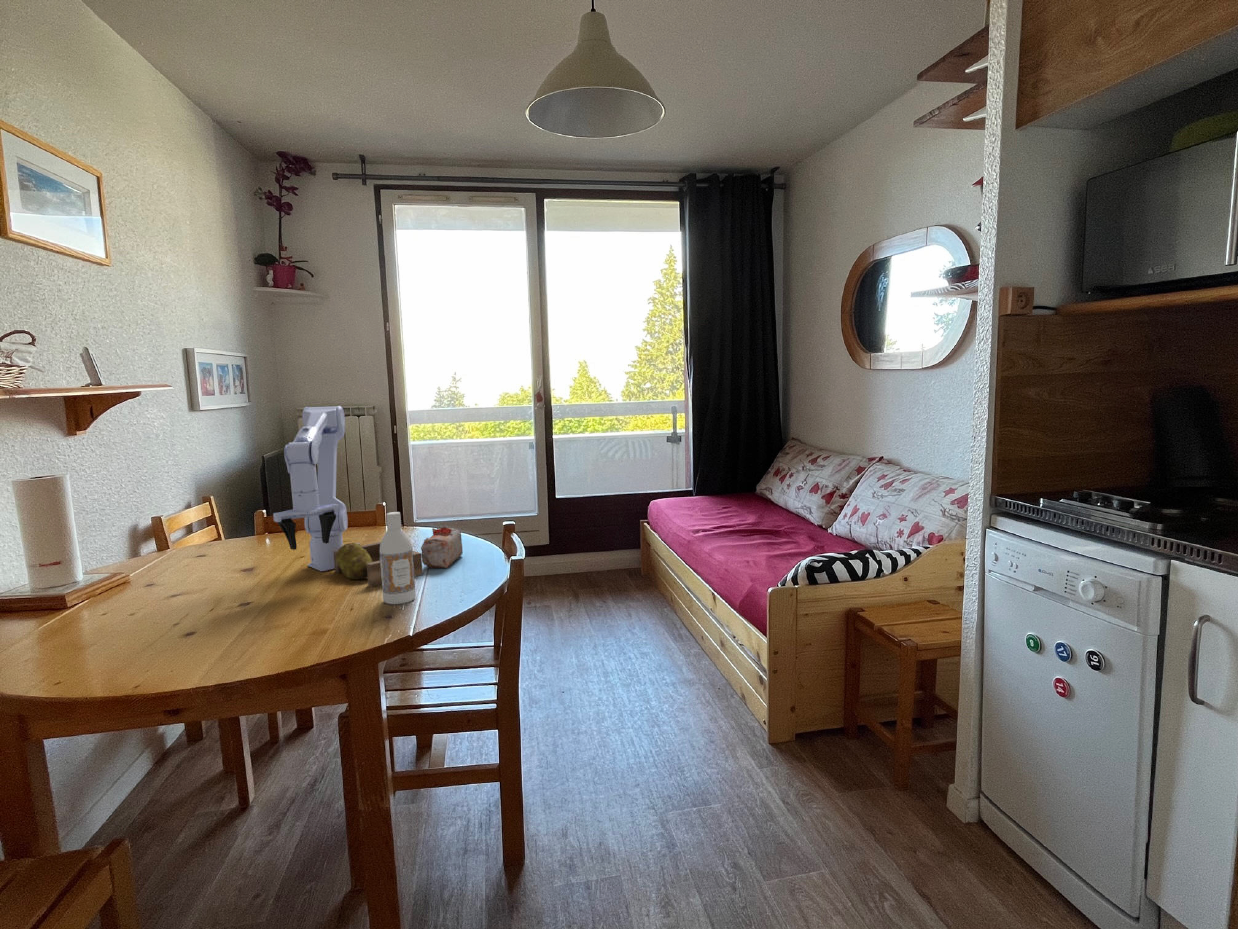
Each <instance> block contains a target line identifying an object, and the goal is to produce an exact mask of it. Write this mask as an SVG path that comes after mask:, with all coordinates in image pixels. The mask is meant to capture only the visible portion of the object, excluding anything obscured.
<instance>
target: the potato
mask: <svg viewBox="0 0 1238 929" xmlns="http://www.w3.org/2000/svg"><path fill="white" fill-rule="evenodd" d="M356 543H357V542H349V543H345V544H343V546H342V547H340V548H339V550H338V552H337V556H336V560H337V564H338V566H339V567H340V568H341V570H342V572H341V573H342V574H343V575H344V576H345V577H346V578H348V579H351V580H366V579H368V576H367V563H371V562H373V561H372V559H371V557H370V555H369V553H368V552H367V551H366V550H365V549H363V548H362V545H361V544H360V545H359V544H356Z"/></svg>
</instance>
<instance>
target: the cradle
mask: <svg viewBox="0 0 1238 929" xmlns="http://www.w3.org/2000/svg"><path fill="white" fill-rule="evenodd" d="M355 543H356V544H359V545H360V546H362V548H363V549H365V550H366V551H367V552H368V553H369V555H370V557H371V559H372V561H373V562H371V563H367V576H368V577H367V586H368V587H371V588H374V587H377V586H382V577H381V565H380V544H381V541H378V542H373V543H368V544H364V545H363V544H362V545H361V543H360V542H355ZM412 551H413V565H414V577H416V576H421V575H423V562H422V556H421V553H422V552H418V551H415V550H412ZM337 552H338V551H333V554H334V565H335V569H334V572H335V573H336V574H341V573H343V572H342V570H341V568H340V567H339V566H338V564H337V560H336V556H337Z"/></svg>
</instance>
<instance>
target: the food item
mask: <svg viewBox="0 0 1238 929" xmlns="http://www.w3.org/2000/svg"><path fill="white" fill-rule="evenodd" d="M431 530H432V536H429V537H426V538H425V539H424V540H423V543H422V545H421V546H420V550H421V552H420V553H421V559H422V565H424V566H426V567H427V568H431V569H432V568H433V569H447V568H449V567H450V566H451V565H452V564H453V563H454V562H455V561H457V559H459V558H460V557H461V556H462V555H463V542H462V532H461V530H460V529H458V528H454V527H453V528H451V527H446V526H443V527H441V528H437V529H436V528H434V527H432V529H431Z"/></svg>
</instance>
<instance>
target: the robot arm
mask: <svg viewBox="0 0 1238 929" xmlns="http://www.w3.org/2000/svg"><path fill="white" fill-rule="evenodd" d="M301 415H302V416H301V417H302V424H303V426H302V427H301V428H300V429H299V430H298V431H297V434H296V435H295V437H294V439H293V442H292V441H291V442H288V444H285V446H284V450H283V452H284V462H285V464H286V468H287V470H286V471H287V473H288V474H289V477H290V489H291V498H292V509H287V510H284V511H280V512H279V511H278V512H273V514H272V517H273V522H275V523H277V524H278V527H280V529H281V530H282V532H283V533H284V535H285V537H286V539H287V542H288V545H289V548H290V550H293V551H296V550H297V547H298V546H297V540H296V526H297V523H295V522H294V520H295V519H301V518H303V519H304V520H303V521H304V529H305V532H307V534H308V535H310V540H309V553H310V554H309V555H310V563H307V566H308V567H310V568H313V569H315V570H318V571H319V572H326V571H331V570H335V565H334V554H333V551H338V550H339V548H340V547H342V546H343V545H344V541H343V533H345V532H346V530H348V529H347V528H348V523H349V522H348V514H347V512H348V511H347V509H348V508H347V506H346V504H345V503H344V502H343V501H341V500H340V499H338V498H337V497H336V496H337V463H338V462H337V460H338V459H337V457H338V455H337V453H338V446H339V445H338V444H339V441H340V440H343V438H344V437H345V433H346V417H345V411H344V408H343V406H341V405H337V406H335V405H333V406H305V407H304V409H302V414H301ZM316 466H317V467H316Z"/></svg>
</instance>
